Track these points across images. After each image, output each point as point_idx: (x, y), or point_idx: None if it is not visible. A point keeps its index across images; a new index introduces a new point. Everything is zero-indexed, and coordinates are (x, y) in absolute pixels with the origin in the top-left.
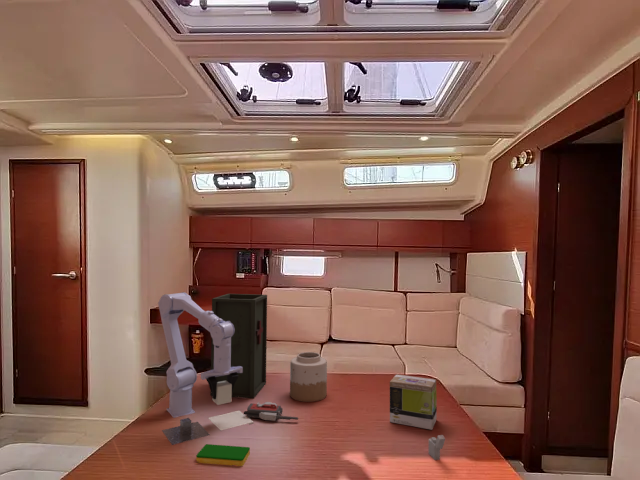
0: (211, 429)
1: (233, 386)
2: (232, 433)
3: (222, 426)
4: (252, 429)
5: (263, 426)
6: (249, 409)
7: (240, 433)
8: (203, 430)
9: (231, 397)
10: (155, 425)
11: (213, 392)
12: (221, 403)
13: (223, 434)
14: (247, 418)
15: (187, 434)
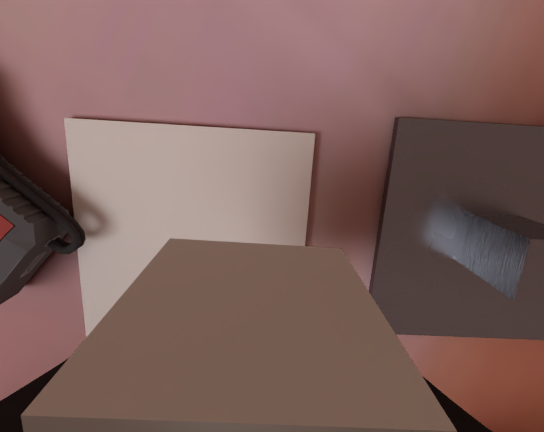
0: (340, 205)
1: (10, 399)
2: (259, 63)
3: (277, 183)
4: (113, 29)
5: (21, 22)
6: (24, 222)
7: (213, 25)
8: (399, 202)
9: (153, 258)
10: (537, 417)
11: (438, 390)
12: (295, 247)
13: (314, 88)
14: (82, 195)
15: (498, 208)
